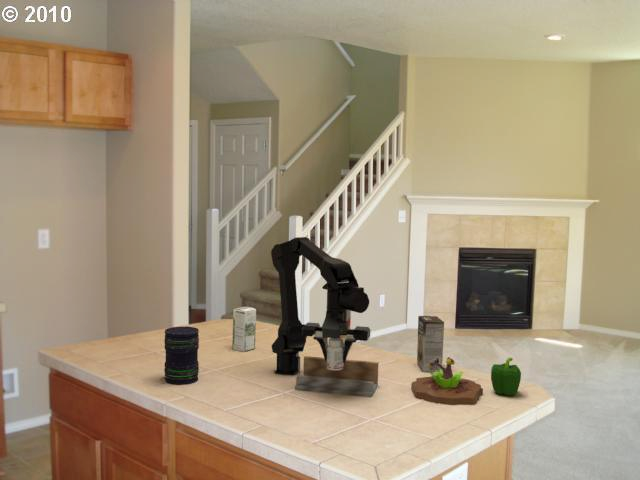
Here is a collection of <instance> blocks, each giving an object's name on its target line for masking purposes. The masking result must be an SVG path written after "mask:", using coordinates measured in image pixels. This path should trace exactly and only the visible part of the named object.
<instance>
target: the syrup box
mask: <svg viewBox="0 0 640 480" xmlns="http://www.w3.org/2000/svg"><path fill="white" fill-rule="evenodd" d="M256 323H257V309H256V308H254V307H252V306H251V307H250V306H243V307H242V306H241V307H237V308H233V314H232V350H233V351H237V352H238V351H239V352H243V353H245V352H249V351H252V350H255V349H256V330H257V328H256V326H257V325H256Z"/></svg>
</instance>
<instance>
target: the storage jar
mask: <svg viewBox="0 0 640 480" xmlns="http://www.w3.org/2000/svg"><path fill="white" fill-rule="evenodd" d="M199 332H200V331H199V328H197V327H193V326H173V327H167V328H165V330H164V342H163V343H164V350H165V362H164V365H163V366H164V369H163V371H164V377H165V378H164V382H165V383H166V384H169V385H174V386H186V385H191V384H196V383H197V382H198V381H199V371H200V369H199V368H200V367H199V364H200V363H199V361H198V356H199V355H198V354H199V352H198V350H199V345H200V338H199Z"/></svg>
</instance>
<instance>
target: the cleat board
mask: <svg viewBox="0 0 640 480" xmlns="http://www.w3.org/2000/svg"><path fill="white" fill-rule="evenodd" d="M295 378H296V379H295V380H296V383H295V385H294V391H300V392H301V391H302V392H310V393H311V392H314V393H323V394H335V395H345V396H355V397H366V398H373V396H374V394H375V392H376V390H377V388H378V386H379V361H371V360H370V361H368V360H357V359H356V360H355V359H346V361H345V363H344V367H343V369H342V370H337V371H335V370H329V369H327V361H325V358H324V357H320V356H307V355H304V356H303V375H302V374H301V375H300V374H296V377H295Z"/></svg>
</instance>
